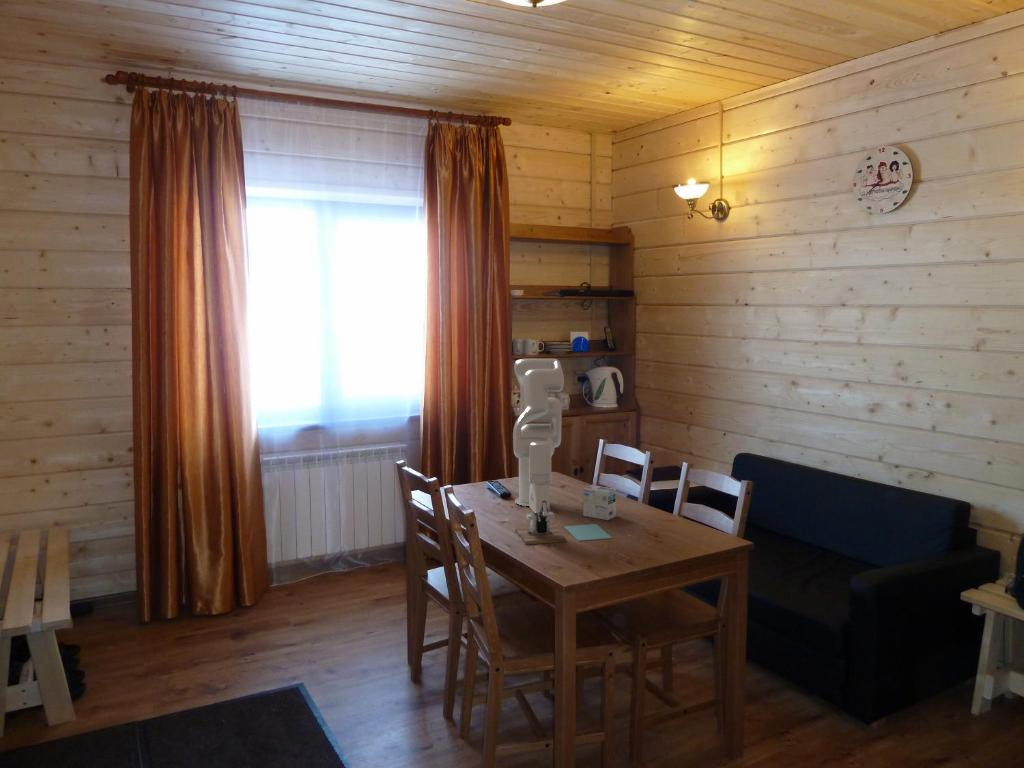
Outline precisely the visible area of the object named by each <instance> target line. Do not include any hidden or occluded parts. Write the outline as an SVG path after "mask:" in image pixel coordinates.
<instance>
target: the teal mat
mask: <svg viewBox="0 0 1024 768" xmlns="http://www.w3.org/2000/svg"><path fill="white" fill-rule="evenodd" d="M563 528H564V529H565V530H566V531H567V532H568V533H570V535H571V536H572V537H573V538H574V539H577V542H585V541H598V540H599V541H600V540H610V539H611V538H612V539H613V536H611V535H610V534H609V533H607V532H606V531H605V530H604V529H603V528H601V526H599V525H598V524H597V523H593V524H591V523H590V524H581V525H578V524H577V525H565V526H563ZM612 539H611V540H612Z"/></svg>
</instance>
